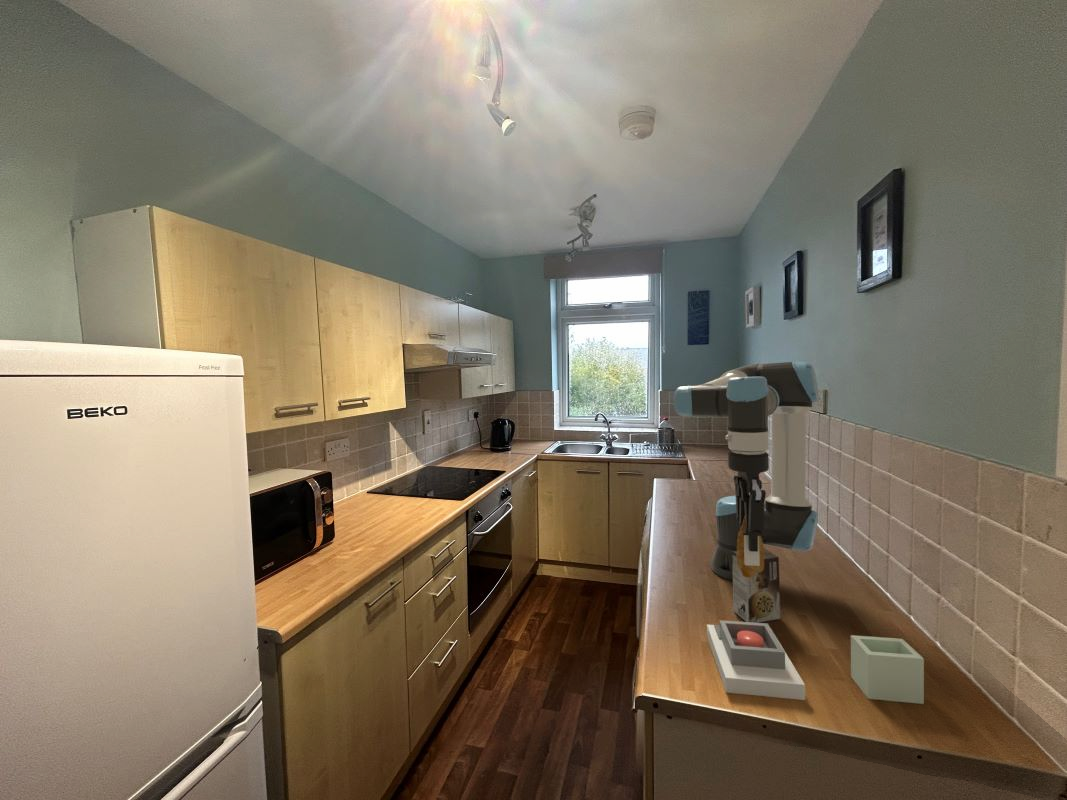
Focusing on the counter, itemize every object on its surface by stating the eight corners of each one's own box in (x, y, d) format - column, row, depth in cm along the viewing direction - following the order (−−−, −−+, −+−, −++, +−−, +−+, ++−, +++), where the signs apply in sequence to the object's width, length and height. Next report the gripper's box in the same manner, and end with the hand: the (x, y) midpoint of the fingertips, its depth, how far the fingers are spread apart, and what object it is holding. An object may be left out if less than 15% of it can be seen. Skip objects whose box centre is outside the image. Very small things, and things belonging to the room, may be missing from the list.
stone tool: (760, 575, 90) (761, 507, 89) (764, 581, 88) (765, 511, 86) (735, 574, 91) (735, 507, 89) (738, 580, 89) (739, 511, 87)
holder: (851, 676, 86) (850, 635, 85) (902, 680, 84) (902, 638, 83) (868, 698, 80) (868, 654, 79) (923, 703, 78) (923, 658, 77)
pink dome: (734, 642, 93) (734, 629, 93) (759, 644, 92) (759, 631, 92) (741, 657, 88) (740, 643, 88) (767, 659, 87) (766, 645, 87)
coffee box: (763, 606, 112) (762, 546, 112) (781, 619, 106) (780, 556, 105) (732, 610, 111) (730, 550, 110) (748, 624, 104) (747, 560, 104)
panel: (707, 636, 100) (706, 610, 100) (771, 641, 98) (771, 614, 97) (726, 692, 83) (725, 660, 82) (805, 700, 80) (804, 666, 80)
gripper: (719, 445, 96) (722, 547, 97) (738, 458, 81) (741, 577, 82) (755, 444, 95) (757, 548, 96) (781, 457, 80) (783, 579, 81)
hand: (749, 561), depth 89 cm, fingers closed on stone tool, 2 cm apart
